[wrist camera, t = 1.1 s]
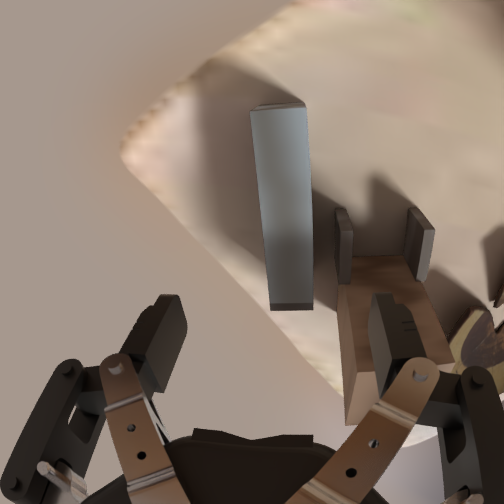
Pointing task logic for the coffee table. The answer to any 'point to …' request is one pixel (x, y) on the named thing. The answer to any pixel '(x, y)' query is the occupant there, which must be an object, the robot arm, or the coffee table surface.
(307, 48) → the coffee table surface
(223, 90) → the coffee table surface
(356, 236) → the coffee table surface
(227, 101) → the coffee table surface
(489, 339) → the cracked wood slice
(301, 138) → the gray rectangular block
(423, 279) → the dark u-channel
